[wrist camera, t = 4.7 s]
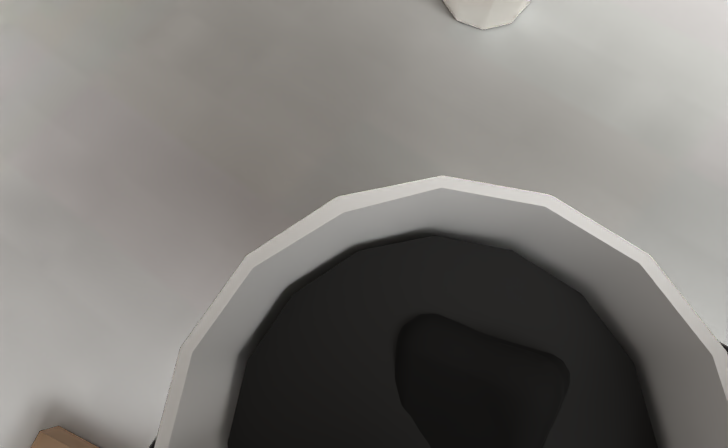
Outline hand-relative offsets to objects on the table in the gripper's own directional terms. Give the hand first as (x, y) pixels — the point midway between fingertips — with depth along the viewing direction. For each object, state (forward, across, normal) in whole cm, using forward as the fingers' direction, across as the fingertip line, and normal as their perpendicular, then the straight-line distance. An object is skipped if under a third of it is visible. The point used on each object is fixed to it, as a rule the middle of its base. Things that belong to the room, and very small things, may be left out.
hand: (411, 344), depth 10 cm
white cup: (+4, 0, +6) cm, 7 cm away
